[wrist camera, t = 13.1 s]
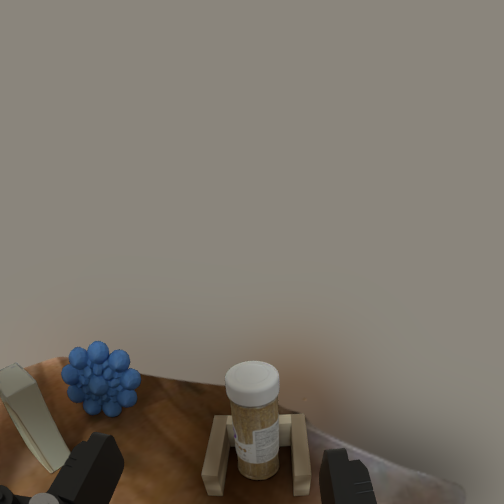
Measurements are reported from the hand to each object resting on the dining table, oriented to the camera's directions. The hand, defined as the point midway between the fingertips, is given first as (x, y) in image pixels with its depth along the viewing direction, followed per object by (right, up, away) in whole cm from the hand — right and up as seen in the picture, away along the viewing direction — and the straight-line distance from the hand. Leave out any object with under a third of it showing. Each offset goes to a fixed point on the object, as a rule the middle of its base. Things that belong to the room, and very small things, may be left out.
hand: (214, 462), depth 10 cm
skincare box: (-23, -18, +17) cm, 34 cm away
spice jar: (+2, -15, +18) cm, 24 cm away
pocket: (+2, -15, +18) cm, 24 cm away
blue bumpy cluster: (-18, -15, +27) cm, 36 cm away
